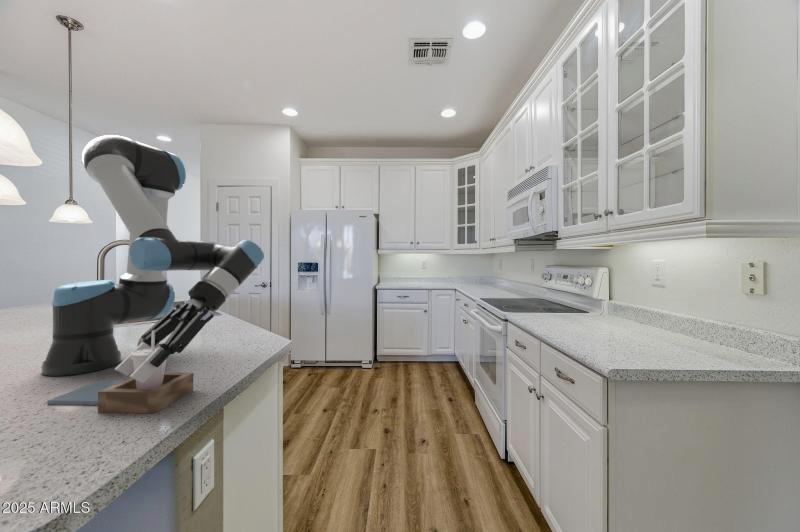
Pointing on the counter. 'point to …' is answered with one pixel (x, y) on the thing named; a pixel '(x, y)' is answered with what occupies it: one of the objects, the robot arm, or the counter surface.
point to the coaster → (83, 394)
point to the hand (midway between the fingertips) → (128, 376)
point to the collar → (144, 395)
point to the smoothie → (140, 357)
